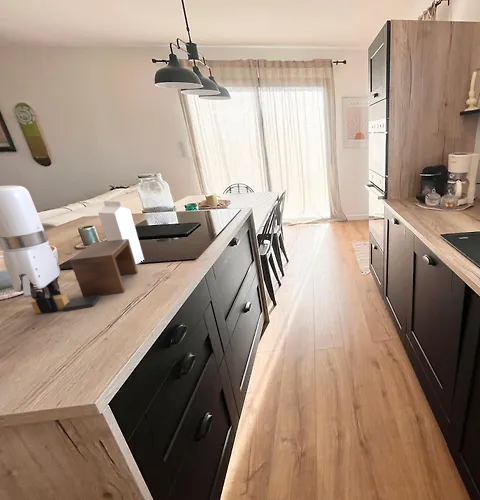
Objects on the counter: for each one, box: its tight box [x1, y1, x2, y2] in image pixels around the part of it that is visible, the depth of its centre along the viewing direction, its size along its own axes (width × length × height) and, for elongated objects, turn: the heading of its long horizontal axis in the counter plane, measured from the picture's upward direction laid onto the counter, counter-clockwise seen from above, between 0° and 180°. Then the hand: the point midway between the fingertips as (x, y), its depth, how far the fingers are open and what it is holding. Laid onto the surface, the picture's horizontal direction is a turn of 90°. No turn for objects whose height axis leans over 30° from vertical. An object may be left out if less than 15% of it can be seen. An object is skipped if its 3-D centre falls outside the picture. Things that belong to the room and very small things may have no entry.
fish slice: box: [30, 293, 102, 315], centre depth 74 cm, size 12×5×3 cm, turn 112°
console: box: [69, 239, 139, 297], centre depth 84 cm, size 9×15×12 cm, turn 22°
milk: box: [98, 200, 145, 265], centre depth 97 cm, size 6×6×22 cm
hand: (53, 307), depth 73 cm, fingers closed on fish slice, 2 cm apart
